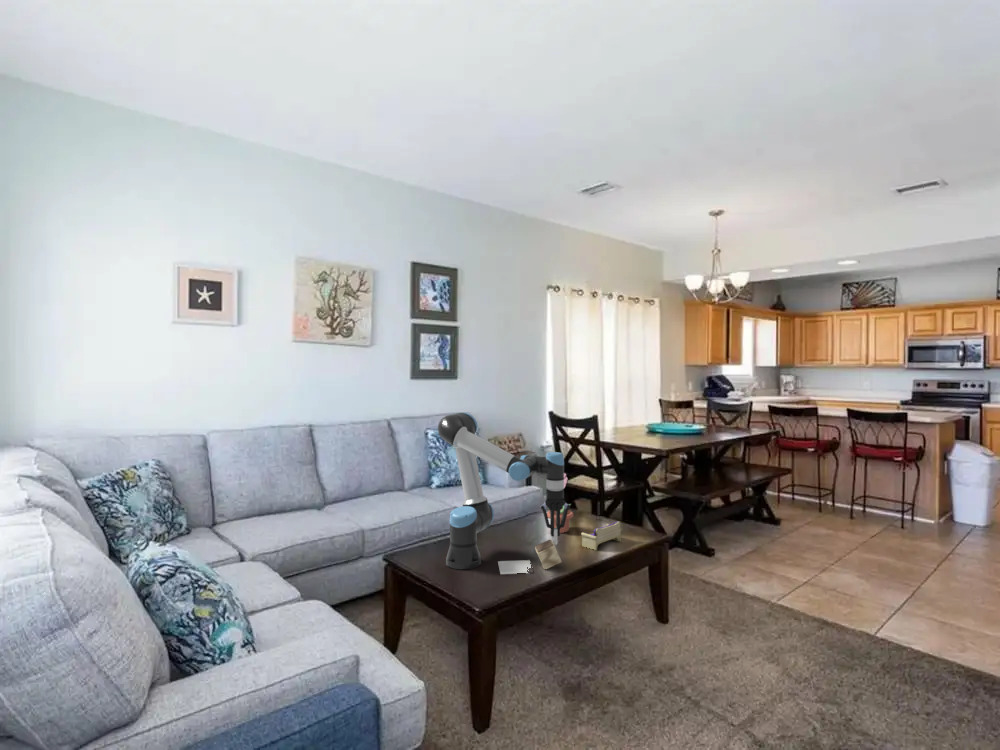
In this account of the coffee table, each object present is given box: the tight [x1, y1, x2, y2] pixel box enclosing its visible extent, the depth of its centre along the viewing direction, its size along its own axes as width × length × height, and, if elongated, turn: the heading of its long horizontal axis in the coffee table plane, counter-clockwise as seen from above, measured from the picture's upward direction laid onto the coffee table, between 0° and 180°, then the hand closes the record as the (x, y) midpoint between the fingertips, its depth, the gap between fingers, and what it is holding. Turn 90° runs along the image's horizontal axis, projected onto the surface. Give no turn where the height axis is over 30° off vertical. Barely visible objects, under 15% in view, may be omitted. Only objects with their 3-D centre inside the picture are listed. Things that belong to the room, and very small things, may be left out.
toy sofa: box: [580, 521, 623, 551], centre depth 268 cm, size 21×9×10 cm, turn 133°
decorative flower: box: [546, 472, 574, 534], centre depth 288 cm, size 15×14×30 cm
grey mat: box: [497, 559, 532, 575], centre depth 238 cm, size 14×14×1 cm
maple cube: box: [534, 538, 562, 570], centre depth 239 cm, size 8×8×8 cm
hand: (555, 543), depth 240 cm, fingers closed
